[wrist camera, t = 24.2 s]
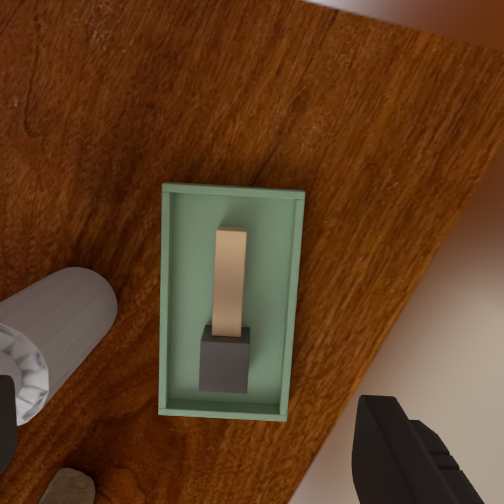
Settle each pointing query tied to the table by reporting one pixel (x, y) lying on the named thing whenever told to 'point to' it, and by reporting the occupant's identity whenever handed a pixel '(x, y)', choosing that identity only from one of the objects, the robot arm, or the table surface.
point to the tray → (254, 298)
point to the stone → (69, 488)
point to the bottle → (52, 333)
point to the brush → (226, 319)
